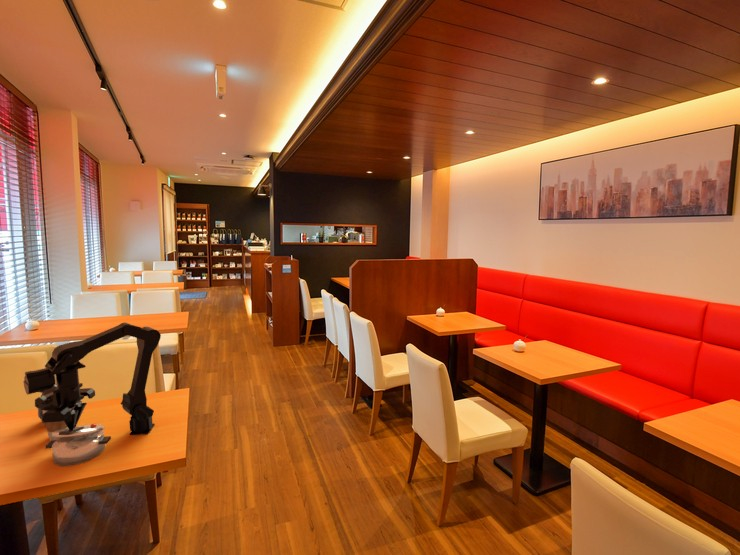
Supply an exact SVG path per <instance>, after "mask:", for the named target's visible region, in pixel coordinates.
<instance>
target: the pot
mask: <svg viewBox="0 0 740 555" xmlns="http://www.w3.org/2000/svg"><path fill="white" fill-rule="evenodd" d="M111 439H112V436H111V435H110V436H109V435H108V436H105V434H104V430H102V431H99V432H96V433H92V434H87V435H81V436H74V437H63V438H59V439H58V440H52V441H51V440H49V442H48V443H46V445H44V446H45V449H51V451H52V458H53V463H54V464H55V465H56V466H59V467H71V466H76V465H80V464H84V463H86V462H89V461H90V460H92V459H94V458H96V457H98V456H100V454H101V453H103V452H104V450H105V449H106V444H108V443H109V442H110V441H111Z"/></svg>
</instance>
